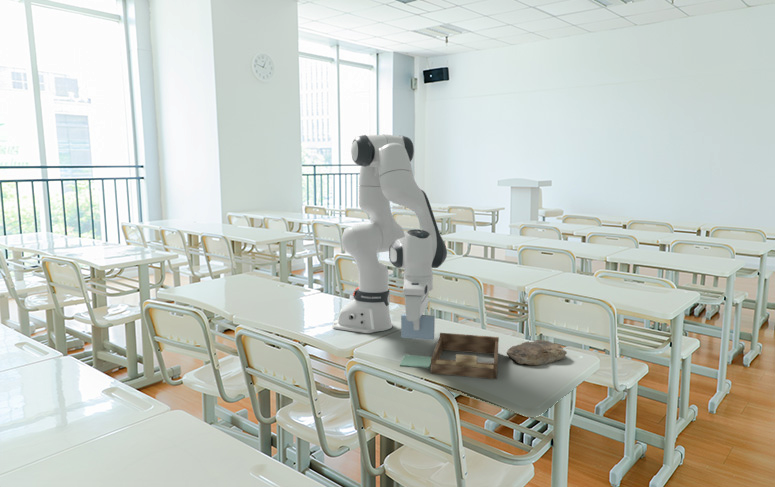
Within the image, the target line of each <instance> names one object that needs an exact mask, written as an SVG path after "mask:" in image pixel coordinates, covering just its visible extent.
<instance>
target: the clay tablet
mask: <svg viewBox="0 0 775 487" xmlns="http://www.w3.org/2000/svg"><path fill="white" fill-rule="evenodd" d="M567 354H568V352H567V350H565V349H563V347H562V346H561V345H560V344H558V343H554V342H551V341H549V340H545V339H535V340H534V341H525V342H522V343H520V344H517V345H512V346H511V347H510V348H508V349H507V351H506V356H508V357H509V359H512V360H514V361H515V362H516V363H517V364H520V365H523V364H525V365H528V366H541V365H542V366H544V365H547V364H551V363H554V362H557V361H559V360H563V359H565V358H566V356H567Z"/></svg>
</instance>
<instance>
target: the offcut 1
mask: <svg viewBox="0 0 775 487" xmlns="http://www.w3.org/2000/svg"><path fill="white" fill-rule="evenodd" d="M435 364H440V365H451V366H456V362H455V361H444V360H437V361H436V363H435Z"/></svg>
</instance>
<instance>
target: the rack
mask: <svg viewBox="0 0 775 487" xmlns="http://www.w3.org/2000/svg"><path fill="white" fill-rule="evenodd" d="M499 339H500V338H499V336H490V335H489V336H488V335H476V334H475V335H474V334H462V333H448V332H447V333H446V332H440V333H439V338H438V340H437V342H436V346H435V348H434V350H433V353H432V356H430V357H431V365H430V374H437V375H445V376H446V375H448V376H459V377H468V378H469V377H471V378H483V379H490V380H491V379H492V380H497V376H498V364H499V363H498V361H499V341H500V340H499ZM450 350H451V352H464V353H465V352H466V353H477V354H489V355H490V354H491V355H494V356H493V362H483V361H482V362H481V361H477V364H488V365H494V367H493V369H486V368H474V367H463V366H451V365H440V364H435V363H436V361H437V360H444V361H455V362H456V359H448V358H447V359H445V358H441V355H442V353H443V351H450Z"/></svg>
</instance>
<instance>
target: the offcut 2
mask: <svg viewBox="0 0 775 487" xmlns="http://www.w3.org/2000/svg"><path fill="white" fill-rule="evenodd" d="M493 367H494V365H488V364H477V365H476V367H474V368H486V369H493Z"/></svg>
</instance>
